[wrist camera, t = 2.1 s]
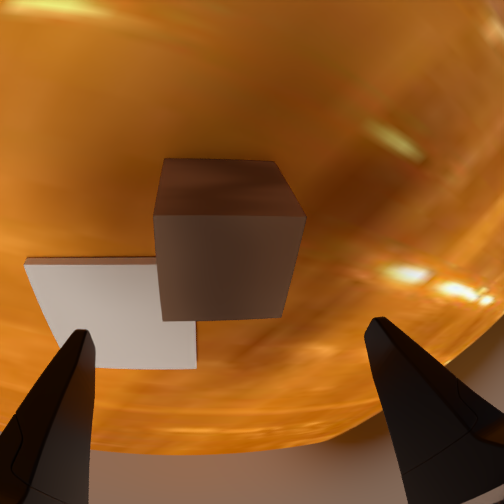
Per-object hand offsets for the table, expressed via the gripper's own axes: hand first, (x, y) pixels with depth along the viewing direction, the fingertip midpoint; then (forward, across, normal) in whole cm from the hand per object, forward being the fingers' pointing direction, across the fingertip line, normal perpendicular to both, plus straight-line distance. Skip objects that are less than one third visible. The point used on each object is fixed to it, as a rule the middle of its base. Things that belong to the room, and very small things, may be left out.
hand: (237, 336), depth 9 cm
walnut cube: (+8, 0, 0) cm, 8 cm away
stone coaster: (+8, +6, +8) cm, 13 cm away
